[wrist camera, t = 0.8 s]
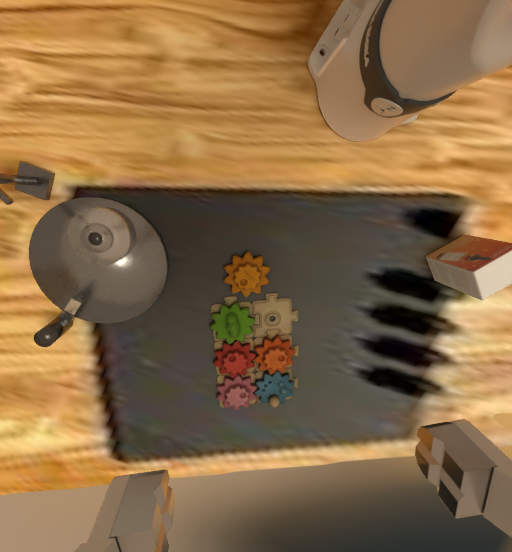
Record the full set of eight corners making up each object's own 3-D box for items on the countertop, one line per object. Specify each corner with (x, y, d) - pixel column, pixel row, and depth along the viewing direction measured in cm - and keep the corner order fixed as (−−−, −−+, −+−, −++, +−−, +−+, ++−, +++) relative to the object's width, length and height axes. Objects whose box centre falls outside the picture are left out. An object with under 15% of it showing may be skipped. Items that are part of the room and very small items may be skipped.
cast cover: (87, 198, 40) (70, 198, 36) (142, 219, 42) (133, 222, 37) (74, 249, 42) (57, 255, 38) (128, 267, 44) (117, 275, 39)
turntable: (49, 175, 40) (22, 172, 34) (184, 226, 44) (179, 231, 39) (18, 316, 45) (-10, 333, 40) (142, 350, 49) (132, 370, 44)
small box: (463, 233, 50) (523, 243, 40) (471, 259, 52) (530, 274, 42) (423, 256, 51) (473, 271, 41) (433, 281, 52) (483, 301, 42)
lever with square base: (25, 160, 39) (-74, 143, 26) (64, 175, 40) (-12, 166, 27) (19, 190, 40) (-79, 188, 27) (57, 204, 41) (-19, 208, 28)
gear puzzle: (203, 252, 46) (201, 257, 43) (297, 246, 48) (304, 251, 44) (218, 406, 55) (217, 422, 51) (297, 396, 57) (302, 411, 53)
